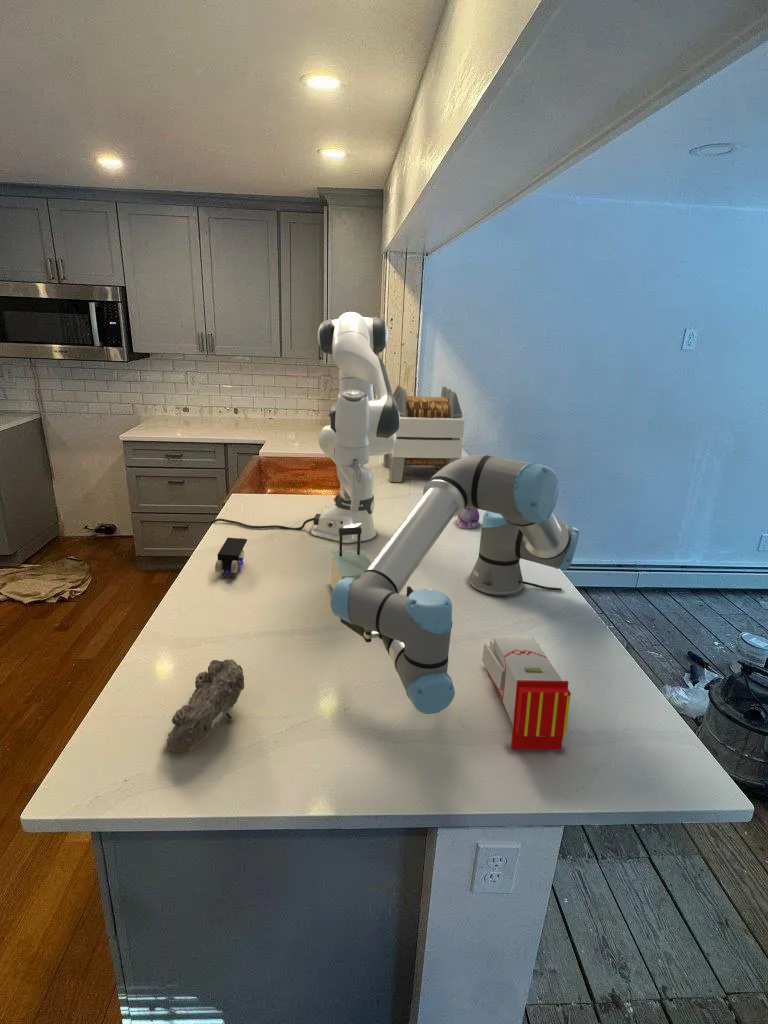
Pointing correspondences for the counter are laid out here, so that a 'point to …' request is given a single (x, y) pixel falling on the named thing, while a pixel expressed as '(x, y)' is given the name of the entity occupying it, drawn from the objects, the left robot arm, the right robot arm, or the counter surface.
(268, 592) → the counter surface
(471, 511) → the figurine
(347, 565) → the lid
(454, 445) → the transformer
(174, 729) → the fossil
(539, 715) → the toy
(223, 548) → the figurine character
